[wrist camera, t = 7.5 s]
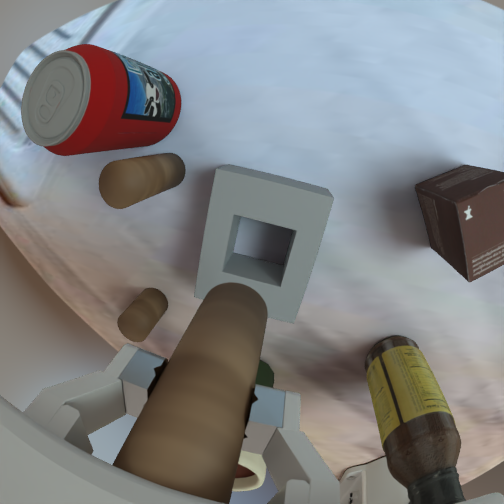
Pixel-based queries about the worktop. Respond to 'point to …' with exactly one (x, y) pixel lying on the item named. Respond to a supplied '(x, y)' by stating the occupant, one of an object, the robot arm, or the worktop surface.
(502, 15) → the worktop surface
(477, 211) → the box
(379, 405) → the sauce bottle
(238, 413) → the long pin
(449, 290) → the worktop surface
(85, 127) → the beverage can
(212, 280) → the socket block
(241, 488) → the character mug
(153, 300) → the short pin
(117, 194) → the medium pin
